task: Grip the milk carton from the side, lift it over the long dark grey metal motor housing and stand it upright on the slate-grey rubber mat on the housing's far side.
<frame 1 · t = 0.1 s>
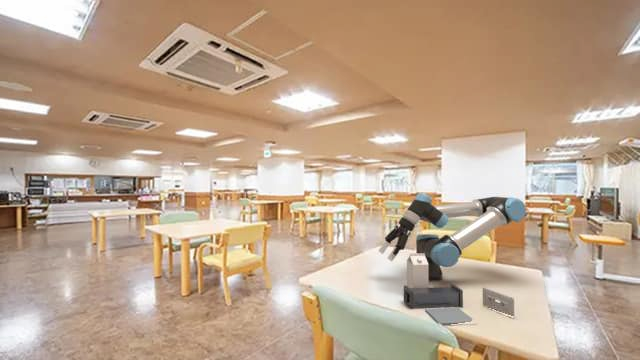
hand: (384, 256, 133), 15 cm above the table, tool tilted 35°, fingers open, 13 cm apart
cassette: (497, 312, 107), on the table
milk carton: (417, 295, 123), on the table
slate mat: (449, 317, 102), on the table
motor housing: (432, 304, 113), on the table
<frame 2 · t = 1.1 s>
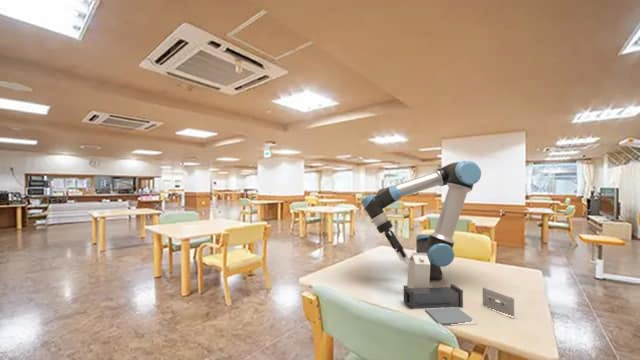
hand: (406, 261, 130), 13 cm above the table, tool tilted 30°, fingers open, 13 cm apart
milk carton: (417, 294, 123), on the table, touching gripper
everything else where it was.
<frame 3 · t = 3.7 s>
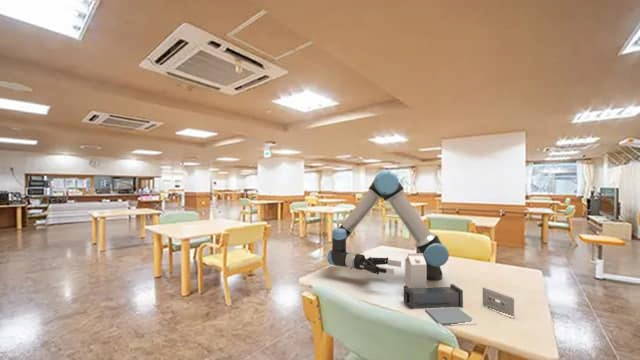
hand: (397, 267, 128), 11 cm above the table, tool horizontal, fingers open, 13 cm apart
milk carton: (415, 295, 123), on the table
everything else where it was.
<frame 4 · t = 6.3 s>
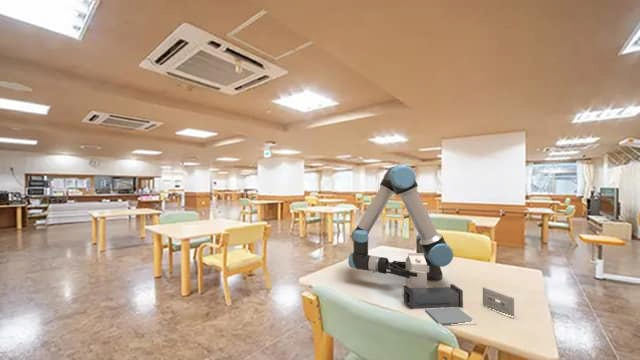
hand: (427, 272, 121), 11 cm above the table, tool horizontal, fingers closed on milk carton, 10 cm apart
milk carton: (415, 295, 123), on the table, touching gripper
everything else where it was.
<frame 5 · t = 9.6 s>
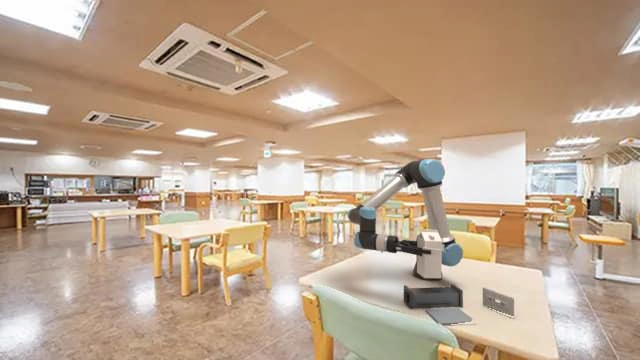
hand: (442, 250, 108), 24 cm above the table, tool horizontal, fingers closed on milk carton, 10 cm apart
milk carton: (428, 276, 111), point 13 cm above the table, touching gripper
everything else where it was.
when the fingers open (13 cm above the table, at t = 12.9 s): milk carton drops 1 cm, resting on slate mat.
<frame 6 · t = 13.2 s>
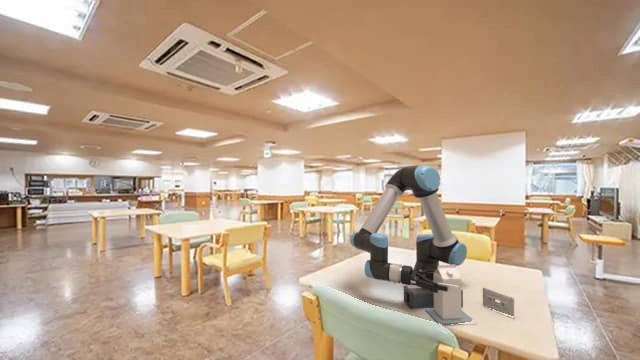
hand: (459, 284, 101), 13 cm above the table, tool horizontal, fingers open, 13 cm apart
milk carton: (447, 314, 103), point 1 cm above the table, touching slate mat
everything else where it was.
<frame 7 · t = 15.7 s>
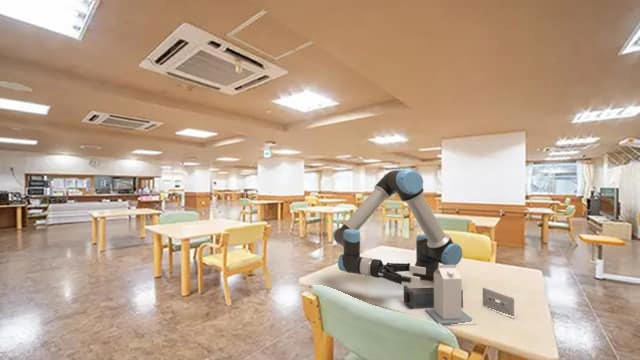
hand: (423, 276, 107), 14 cm above the table, tool horizontal, fingers open, 13 cm apart
nothing on the table moved.
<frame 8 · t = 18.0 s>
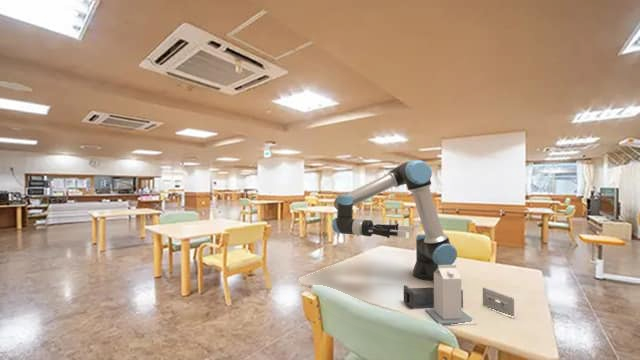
hand: (409, 231, 117), 30 cm above the table, tool horizontal, fingers open, 13 cm apart
nothing on the table moved.
at the end: milk carton 0.8 cm from the slate mat (horizontally); milk carton tilted 0°; the gripper is holding nothing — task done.
